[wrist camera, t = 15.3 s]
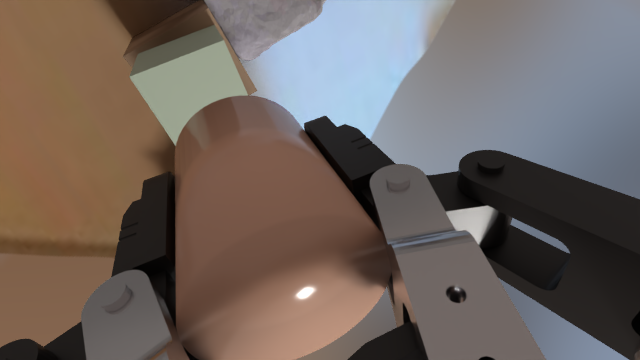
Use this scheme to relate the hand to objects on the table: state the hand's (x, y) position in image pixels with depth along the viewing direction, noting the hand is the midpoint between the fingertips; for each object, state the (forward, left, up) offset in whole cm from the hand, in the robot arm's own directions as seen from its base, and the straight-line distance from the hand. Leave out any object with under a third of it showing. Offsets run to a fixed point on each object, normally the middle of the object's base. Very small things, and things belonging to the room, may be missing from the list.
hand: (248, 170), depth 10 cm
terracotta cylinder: (0, 0, -1) cm, 1 cm away
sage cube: (-1, -1, -14) cm, 14 cm away
